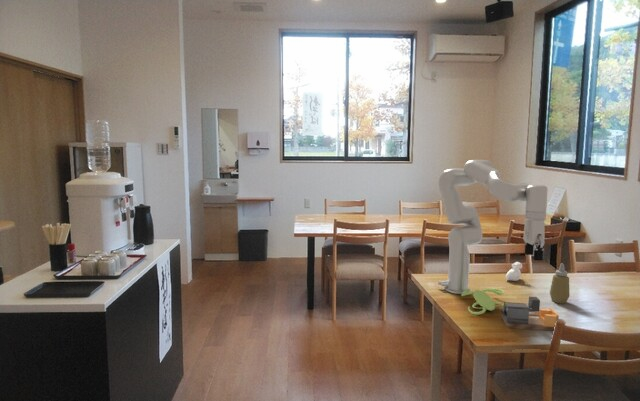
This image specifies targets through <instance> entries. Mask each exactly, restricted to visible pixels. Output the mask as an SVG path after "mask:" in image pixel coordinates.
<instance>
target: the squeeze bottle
mask: <svg viewBox="0 0 640 401" xmlns="http://www.w3.org/2000/svg"><path fill="white" fill-rule="evenodd" d="M565 268H566V267H565V264H564V263H562V262H561V263H560V265H559V268H558V269H556V270H555V274H554V275H552V281H551V285H550V290H549V295H550V299H551V302H554V303H556V304H566V303H567V302H568V299H569V298H570V277H569V276H568V272H567V271H566V270H565Z"/></svg>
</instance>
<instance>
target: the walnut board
mask: <svg viewBox="0 0 640 401" xmlns="http://www.w3.org/2000/svg"><path fill="white" fill-rule="evenodd" d="M501 320H502V321H503V323H504V324H505V325H506V327H507V328H508V329H520V330H521V329H522V330H537V331H547V332H548V331H549V332H555V331H554V327H546V326H544V325H543V323H542V322H541V321H540V320H539V317H529V319H528V324H517V323H506V321H505V320H504V318H503V315H501Z"/></svg>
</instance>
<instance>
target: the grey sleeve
mask: <svg viewBox="0 0 640 401" xmlns="http://www.w3.org/2000/svg"><path fill="white" fill-rule="evenodd" d="M503 304H504V311H502V312H503V313H502V316H503V318H504V320H505V321H506V323H517V324H528V319H529V318H530V316H529V307H528V305H527V304H526V303H524V302H512V301H511V302H510V301H508V302H507V301H504V302H503ZM506 307H507V314H506Z"/></svg>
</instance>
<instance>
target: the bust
mask: <svg viewBox="0 0 640 401" xmlns="http://www.w3.org/2000/svg"><path fill="white" fill-rule="evenodd" d="M522 268H523V264H522V263H521V262H519V261H515V262H514V263H512V264H511V269H509V271H507V273H506V275H505V280H506V281H514V282H517V281H519V280H520V279H521V277H522V272H521V269H522Z"/></svg>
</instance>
